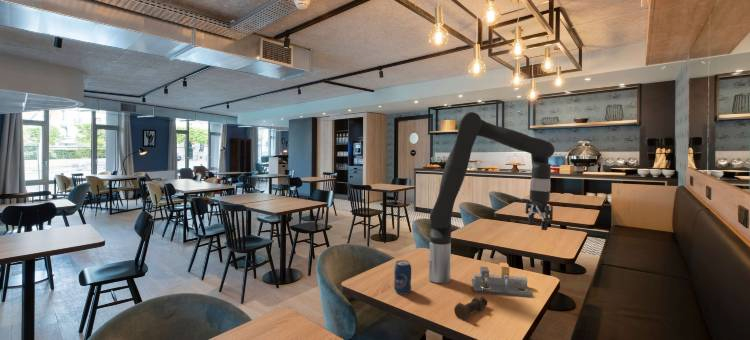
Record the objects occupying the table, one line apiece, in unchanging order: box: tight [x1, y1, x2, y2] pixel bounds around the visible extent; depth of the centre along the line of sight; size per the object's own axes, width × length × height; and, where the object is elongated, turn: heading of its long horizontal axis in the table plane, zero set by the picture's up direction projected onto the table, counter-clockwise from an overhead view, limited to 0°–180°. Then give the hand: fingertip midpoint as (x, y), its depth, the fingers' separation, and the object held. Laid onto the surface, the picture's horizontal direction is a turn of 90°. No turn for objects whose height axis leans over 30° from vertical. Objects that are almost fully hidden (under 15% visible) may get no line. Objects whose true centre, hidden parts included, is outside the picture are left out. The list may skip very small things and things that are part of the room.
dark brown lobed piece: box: [453, 296, 489, 321], centre depth 122 cm, size 6×5×15 cm
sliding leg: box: [498, 262, 510, 287], centre depth 143 cm, size 3×8×7 cm, turn 170°
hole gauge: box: [471, 266, 533, 298], centre depth 142 cm, size 22×12×7 cm, turn 80°
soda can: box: [393, 260, 412, 295], centre depth 139 cm, size 7×7×12 cm
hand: (537, 227), depth 143 cm, fingers open, 8 cm apart
